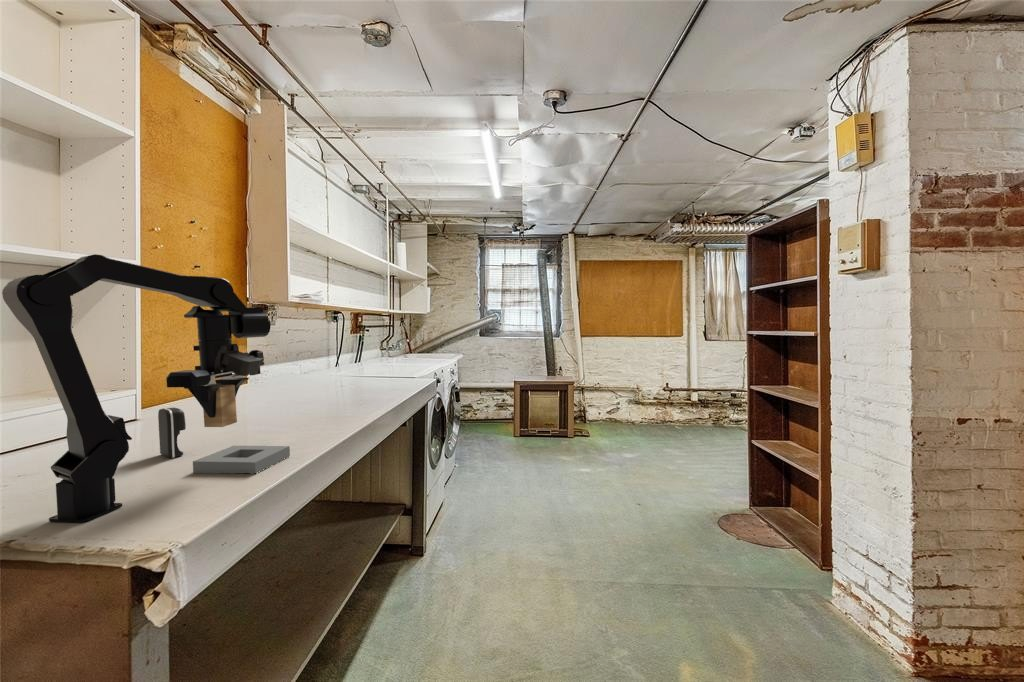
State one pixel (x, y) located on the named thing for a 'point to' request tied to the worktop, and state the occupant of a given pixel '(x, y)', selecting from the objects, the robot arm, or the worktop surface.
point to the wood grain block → (223, 408)
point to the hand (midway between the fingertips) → (220, 414)
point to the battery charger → (170, 430)
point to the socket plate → (241, 459)
